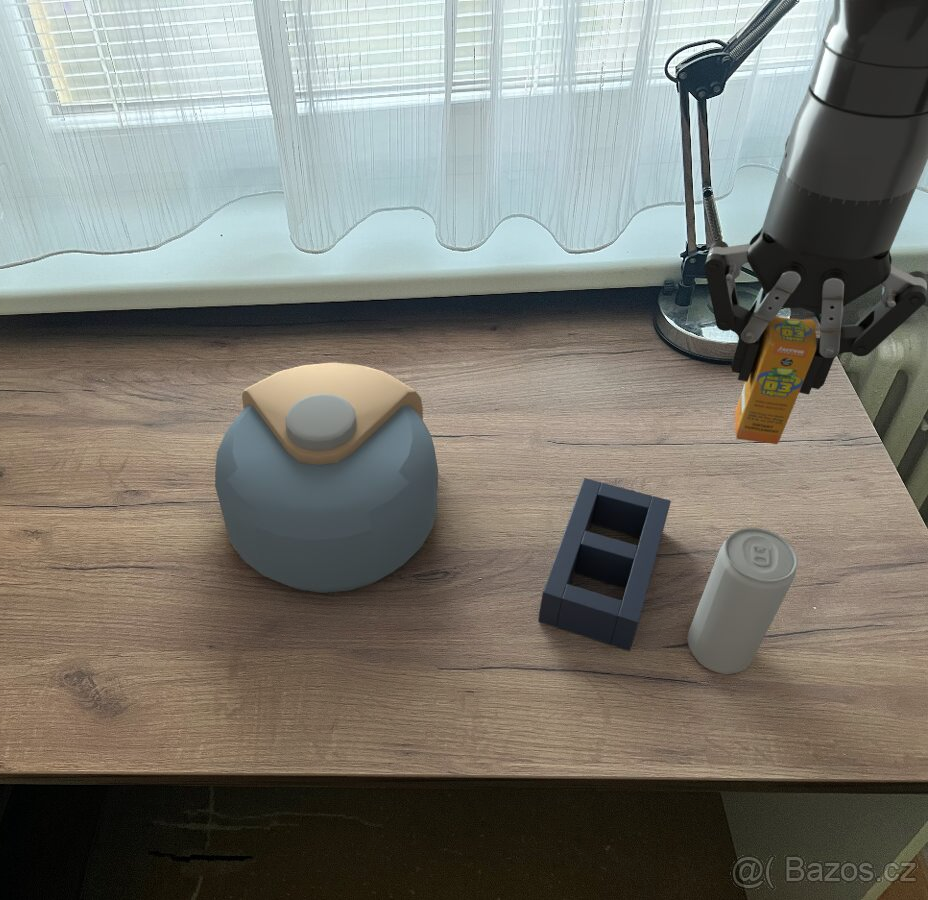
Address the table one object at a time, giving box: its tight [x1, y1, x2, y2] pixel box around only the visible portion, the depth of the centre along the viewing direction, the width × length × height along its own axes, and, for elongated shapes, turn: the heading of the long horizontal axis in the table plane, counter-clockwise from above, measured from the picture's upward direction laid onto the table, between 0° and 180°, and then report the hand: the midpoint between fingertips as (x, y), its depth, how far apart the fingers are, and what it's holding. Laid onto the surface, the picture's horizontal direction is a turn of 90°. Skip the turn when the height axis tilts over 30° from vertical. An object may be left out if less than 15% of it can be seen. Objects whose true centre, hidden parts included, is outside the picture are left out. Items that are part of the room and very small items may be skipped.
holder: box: [538, 477, 672, 652], centre depth 71 cm, size 7×13×4 cm, turn 154°
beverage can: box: [686, 527, 799, 675], centre depth 63 cm, size 5×5×12 cm
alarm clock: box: [214, 362, 439, 594], centre depth 76 cm, size 19×20×12 cm
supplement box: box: [734, 315, 817, 445], centre depth 65 cm, size 3×3×10 cm
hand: (774, 379), depth 65 cm, fingers closed on supplement box, 3 cm apart
